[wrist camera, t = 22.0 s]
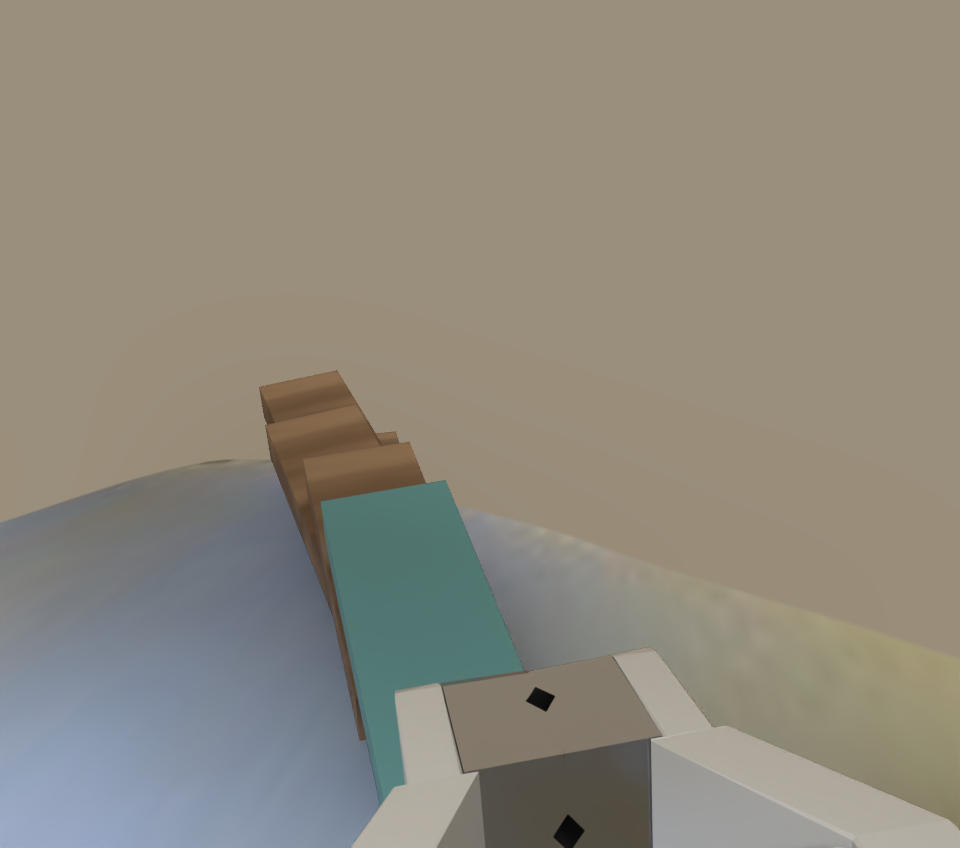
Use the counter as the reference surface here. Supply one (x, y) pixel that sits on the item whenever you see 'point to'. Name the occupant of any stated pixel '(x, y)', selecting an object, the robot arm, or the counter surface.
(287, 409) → the domino
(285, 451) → the domino
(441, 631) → the domino
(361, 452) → the domino
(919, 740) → the counter surface
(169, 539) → the counter surface
